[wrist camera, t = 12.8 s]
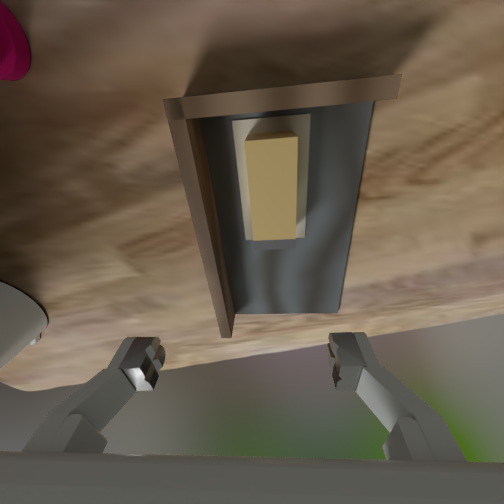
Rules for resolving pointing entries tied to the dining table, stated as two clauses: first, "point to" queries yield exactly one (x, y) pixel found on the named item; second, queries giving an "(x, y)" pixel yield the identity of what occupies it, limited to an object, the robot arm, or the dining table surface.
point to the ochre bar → (272, 188)
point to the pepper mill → (12, 47)
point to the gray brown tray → (308, 190)
